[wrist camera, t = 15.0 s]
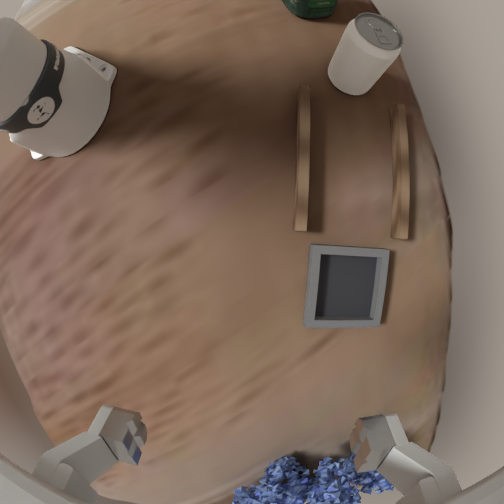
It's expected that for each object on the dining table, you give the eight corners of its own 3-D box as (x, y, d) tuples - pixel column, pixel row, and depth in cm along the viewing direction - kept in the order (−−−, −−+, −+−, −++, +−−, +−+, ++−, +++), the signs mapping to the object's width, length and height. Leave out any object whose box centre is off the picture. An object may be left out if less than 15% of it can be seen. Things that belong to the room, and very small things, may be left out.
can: (360, 58, 31) (389, 11, 19) (377, 94, 31) (416, 54, 20) (320, 61, 31) (340, 8, 19) (336, 99, 32) (366, 53, 20)
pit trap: (374, 322, 35) (379, 327, 33) (302, 322, 35) (305, 327, 33) (383, 248, 34) (389, 249, 32) (310, 243, 34) (313, 244, 32)
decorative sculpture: (423, 462, 23) (207, 535, 21) (413, 496, 26) (245, 554, 25) (379, 405, 37) (205, 465, 36) (381, 448, 40) (237, 498, 39)
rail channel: (398, 238, 33) (407, 239, 31) (292, 230, 33) (295, 230, 31) (396, 111, 32) (404, 105, 29) (297, 92, 32) (300, 84, 29)
